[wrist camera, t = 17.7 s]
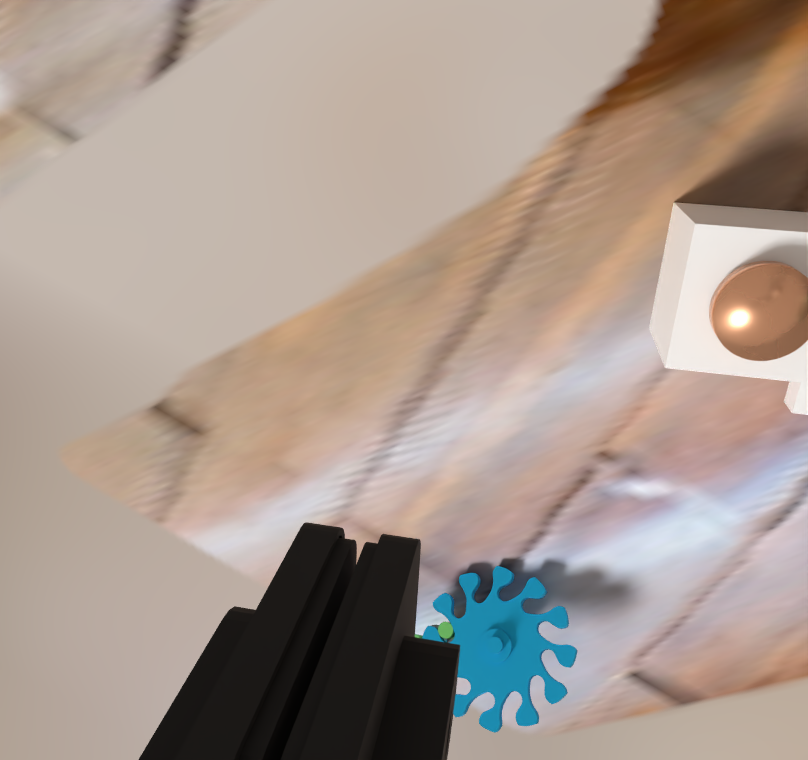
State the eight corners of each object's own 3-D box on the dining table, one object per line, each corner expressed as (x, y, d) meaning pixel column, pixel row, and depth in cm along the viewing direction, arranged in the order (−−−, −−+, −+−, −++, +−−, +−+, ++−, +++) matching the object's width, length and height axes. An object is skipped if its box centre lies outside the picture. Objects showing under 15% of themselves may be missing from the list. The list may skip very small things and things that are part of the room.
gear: (579, 573, 45) (570, 747, 42) (586, 585, 51) (578, 740, 47) (414, 555, 49) (393, 714, 46) (437, 568, 54) (419, 711, 51)
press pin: (699, 234, 37) (725, 261, 31) (790, 241, 36) (833, 271, 30) (681, 315, 38) (704, 355, 33) (768, 324, 38) (805, 366, 32)
